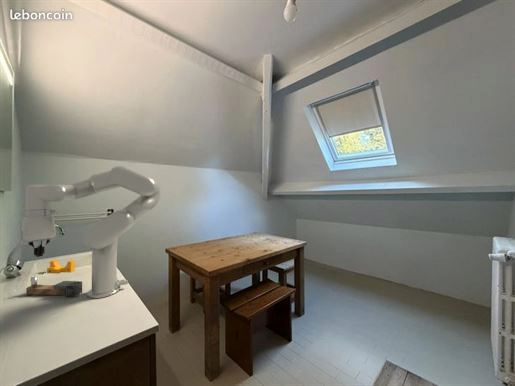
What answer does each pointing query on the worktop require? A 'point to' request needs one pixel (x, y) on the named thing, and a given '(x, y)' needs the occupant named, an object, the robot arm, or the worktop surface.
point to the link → (44, 290)
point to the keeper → (70, 287)
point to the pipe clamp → (58, 269)
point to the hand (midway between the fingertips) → (39, 256)
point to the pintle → (33, 281)
